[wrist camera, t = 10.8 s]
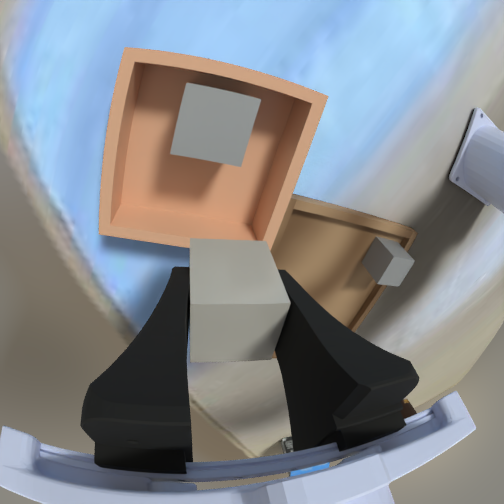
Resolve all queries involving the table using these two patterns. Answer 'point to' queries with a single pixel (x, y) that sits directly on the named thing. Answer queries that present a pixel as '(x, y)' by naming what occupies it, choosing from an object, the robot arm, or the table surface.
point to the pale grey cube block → (234, 301)
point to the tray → (334, 255)
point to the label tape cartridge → (288, 448)
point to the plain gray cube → (387, 262)
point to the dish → (197, 170)
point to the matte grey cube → (214, 124)
